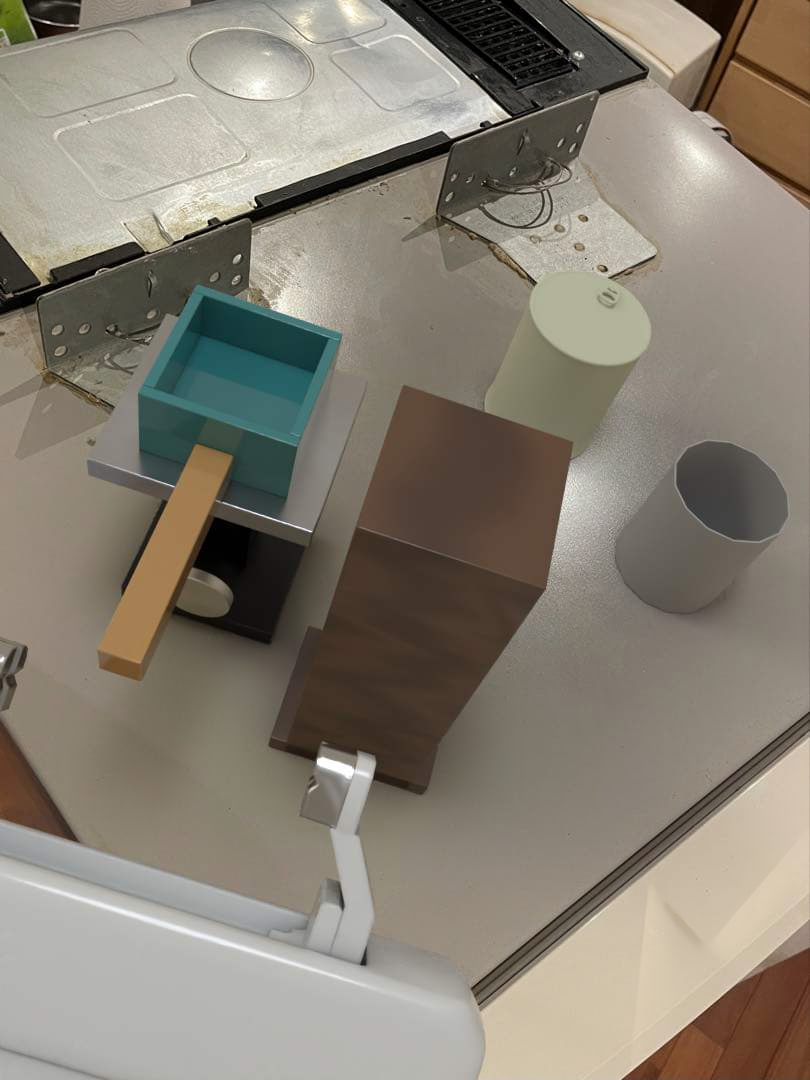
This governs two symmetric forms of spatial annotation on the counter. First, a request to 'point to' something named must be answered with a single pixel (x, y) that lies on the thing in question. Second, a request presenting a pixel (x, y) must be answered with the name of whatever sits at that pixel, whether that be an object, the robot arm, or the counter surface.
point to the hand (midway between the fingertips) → (172, 693)
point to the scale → (234, 509)
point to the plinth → (428, 585)
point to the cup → (702, 526)
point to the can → (570, 356)
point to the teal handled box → (216, 441)
